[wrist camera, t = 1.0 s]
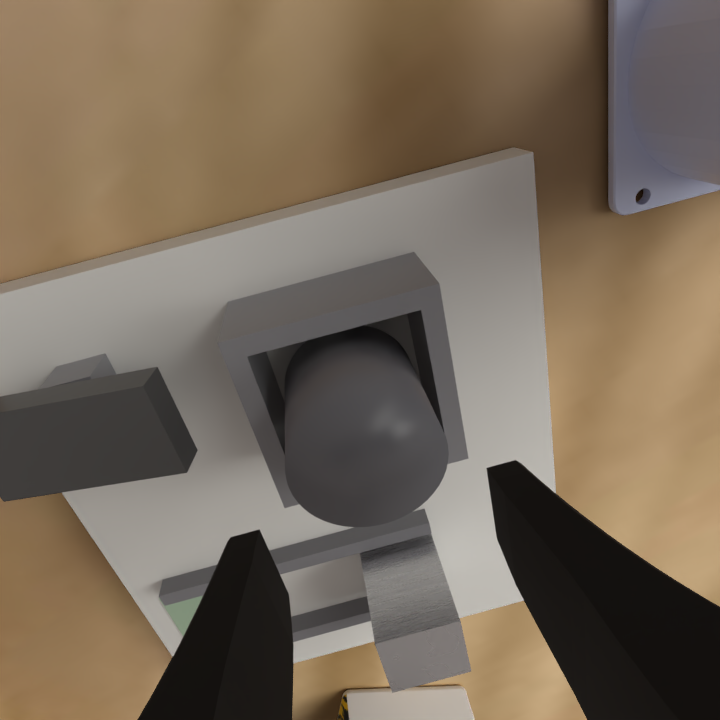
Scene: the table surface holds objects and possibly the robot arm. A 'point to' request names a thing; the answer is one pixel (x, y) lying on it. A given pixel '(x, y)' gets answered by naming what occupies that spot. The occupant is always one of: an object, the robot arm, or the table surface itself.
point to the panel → (268, 369)
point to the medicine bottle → (406, 704)
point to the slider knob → (413, 614)
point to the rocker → (91, 435)
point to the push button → (360, 430)
